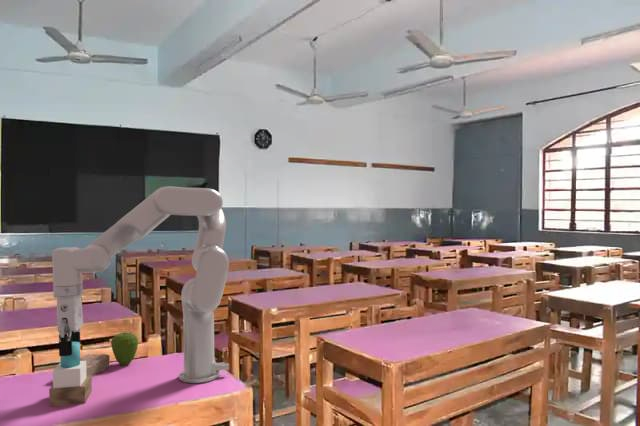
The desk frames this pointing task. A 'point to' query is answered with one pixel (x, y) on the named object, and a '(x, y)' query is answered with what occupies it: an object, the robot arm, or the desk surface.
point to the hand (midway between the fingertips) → (70, 350)
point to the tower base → (71, 394)
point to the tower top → (69, 375)
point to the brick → (95, 363)
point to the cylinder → (72, 357)
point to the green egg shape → (124, 347)
